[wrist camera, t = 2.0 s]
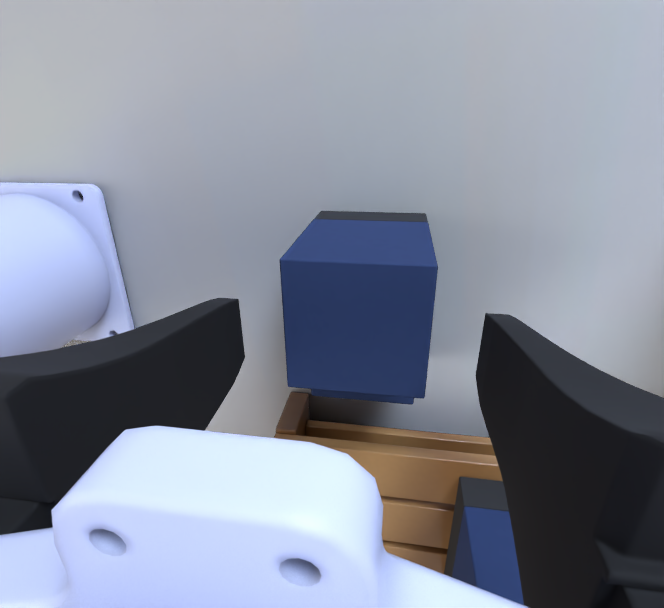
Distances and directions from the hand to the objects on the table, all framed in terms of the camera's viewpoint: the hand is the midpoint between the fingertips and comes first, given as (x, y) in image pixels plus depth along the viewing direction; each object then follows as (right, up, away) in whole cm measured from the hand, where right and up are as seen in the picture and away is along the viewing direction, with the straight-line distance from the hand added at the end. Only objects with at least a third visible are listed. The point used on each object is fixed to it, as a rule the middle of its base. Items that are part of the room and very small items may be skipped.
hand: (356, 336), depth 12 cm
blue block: (+1, +2, +7) cm, 7 cm away
